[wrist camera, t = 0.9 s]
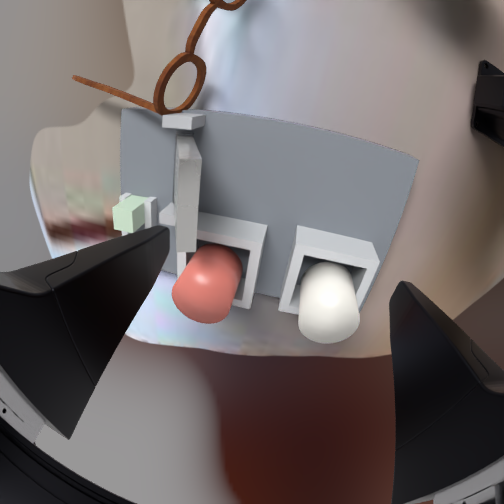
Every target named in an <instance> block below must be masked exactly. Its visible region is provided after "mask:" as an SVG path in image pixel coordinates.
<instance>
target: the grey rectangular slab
mask: <svg viewBox="0 0 504 504" xmlns="http://www.w3.org/2000/svg"><path fill="white" fill-rule="evenodd" d="M193 136H194V132H193V131H187V130H180V131H176V139H175V153H174V171H173V198H172V203H173V204H174V218H175V237H176V252H196V240H197V221H198V205H199V190H200V177H201V166H202V158H201V156H200V153H199V151H198V148H197V146H196V143H195V141H194V138H193Z"/></svg>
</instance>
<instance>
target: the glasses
mask: <svg viewBox="0 0 504 504" xmlns="http://www.w3.org/2000/svg"><path fill="white" fill-rule="evenodd" d="M209 1H210V2H211V3H210V4H209V5H207V6H206V7H205V8H204V9H203V11H202V12H201V14H200V15H199V17H198V19H197V21H196V23H195V25H194V27H193V29H192V31H191V33H190V35H189V37H188V40H187V43H186V50H185V52H184V53H180V54H179V55H177V56H176V57H175V58H174V59H173V60H172V61H171V62H170V63H169V64H168V65H167V66H166V67H165V69H164V70H163V72H162V74H161V75H160V77H159V79H158V82H157V84H156V88H155V91H154V97H153V103H151V102H148V101H146V100H143V99H141V98H138V97H136V96H133V95H131V94H128V93H126V92H123V91H120V90H118V89H115V88H112V87H110V86H107V85H104V84H101V83H97V82H94V81H91V80H88V79H85V78H82V77H80V76H75V75H73V77H72V79H74V80H75V81H78V82H80V83H83V84H85V85H88V86H91V87H94V88H97V89H99V90H102V91H105V92H108V93H110V94H113V95H115V96H118V97H120V98H123V99H125V100H127V101H130V102H132V103H135V104H137V105H139V106H142V107H144V108H146V109H149V110H151V111H153V112H155V113H158V114H159V115H161V116H163V115H167V114H174V113H182V110H188V109H189V108H190V107H191V106H192V105H193V103H194V102H195V100H196V99H197V97H198V95H199V93H200V91H201V89H202V86H203V84H204V81H205V76H206V65H205V62H204V61H203V60H202V59H201V58H200V57H198V56H197V55H195V54H194V50H195V46H196V43H197V41H198V39H199V37H200V35H201V33H202V31H203V29H204V27H205V25H206V23H207V21H208V19H209V18H210V16H211V14H212V13H213V12H214V10H215V9H216V8H217V7H218V8H221V9H224V10H230V11H233V10H236V9H238V8H239V7H241V6H242V5H243V4H244V3H245V1H246V0H235V1H234V2H232V3H226V2H224V1H223V0H209ZM186 62H192V63H193V64H195V66H196V68H197V79H196V82H195V85H194V88H193V90H192V92H191V93H190V95H189V97H188V98H187V99H186V101H185V102H184V103H183V104H182V105H180V106H179V107H177V108H175V109H167V108H166V107H165V105H164V92H165V88H166V85H167V83H168V81H169V79H170V77H171V76H172V74H173V73H174V71H175V70H176V69H177V68H178V67H179V66H181V65H182V64H184V63H186Z"/></svg>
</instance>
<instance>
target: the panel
mask: <svg viewBox="0 0 504 504" xmlns="http://www.w3.org/2000/svg"><path fill="white" fill-rule="evenodd" d="M167 109H175V108H167ZM180 130H187V131H193V132H194V136H193V138H194V141H195V143H196V146H197V148H198V151H199V153H200V156H201V158H202V166H201V177H200V190H199V205H198V221H197V240H196V251H197V250H198V249H199V248H200V247H201V246H203V245H206V244H221V245H224V246H226V247H228V248H230V249H231V250H233V251H234V252H235V253H236V254H237V255H238V257H239V258H240V260H241V263H242V266H243V272H242V276H241V279H240V282H239V285H238V288H237V290H236V293H235V296H234V299H233V302H232V305H233V306H237V307H241V308H246V309H250V308H251V304H252V300H253V296H254V292H255V293H259V294H264V295H269V296H273V297H278V298H280V301H279V308H278V311H283V312H288V313H293V314H298V315H299V304H300V285H301V278H302V276H303V274H304V273H305V271H306V270H307V269H308V268H310V267H311V266H313V265H315V264H317V263H321V262H335V263H338V264H341V265H343V266H344V267H345V268H347V269H348V271H349V272H350V274H351V276H352V280H353V285H354V289H355V295H356V300H357V305H358V311H359V313H360V311H361V309H362V307H363V305H364V303H365V301H366V299H367V297H368V295H369V293H370V290H371V288H372V286H373V284H374V282H375V280H376V277H377V275H378V273H379V271H380V268H381V266H382V264H383V261H384V259H385V257H386V254H387V252H388V249H389V247H390V245H391V242H392V239H393V237H394V234H395V232H396V229H397V226H398V224H399V221H400V218H401V216H402V213H403V210H404V207H405V204H406V201H407V198H408V195H409V192H410V189H411V186H412V183H413V180H414V176H415V173H416V170H417V166H418V163H419V160H418V159H416V158H414V157H413V156H411V155H409V154H406V153H403V152H401V151H398V150H395V149H392V148H389V147H386V146H383V145H379V144H376V143H373V142H370V141H366V140H363V139H360V138H356V137H352V136H349V135H345V134H341V133H337V132H334V131H329V130H325V129H321V128H317V127H312V126H308V125H303V124H298V123H293V122H288V121H283V120H277V119H272V118H266V117H259V116H253V115H245V114H238V113H230V112H221V111H211V110H199V109H188V110H182V113H174V114H167V115H163V116H161V115H159V114H158V113H155V112H153V111H151V110H149V109H146V108H144V107H133V108H125V109H122V113H121V140H120V172H121V196H120V197H119V200H120V202H122V201H123V200H125V199H126V198H127V197H129V196H130V195H135V196H142V197H148V198H147V199H146V200H145V201H144V215H145V223H144V224H143V225H142V226H141V227H140V228H139V229H137V230H136V231H135V232H137V231H140V230H143V229H147V228H150V227H153V226H157V225H161V226H165V227H168V228H169V230H170V251H169V254H168V256H167V258H166V261H165V263H164V265H163V267H162V269H161V270H162V271H166V272H170V273H174V274H177V280H178V278H179V277H180V275H181V274H182V272H183V270H184V269H185V267H186V266H187V264H188V263H189V261H190V260H191V258H192V257H193V255H194V254H195V252H176V237H175V218H174V204H173V203H172V198H173V171H174V153H175V139H176V131H180ZM127 234H130V233H129V232H125V231H122V236H124V235H127Z"/></svg>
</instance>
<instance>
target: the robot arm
mask: <svg viewBox="0 0 504 504" xmlns="http://www.w3.org/2000/svg"><path fill="white" fill-rule="evenodd" d="M484 64H485V65H486V68H485V66H484ZM476 122H477V126H476ZM471 126H472V128H473V129H475V130H476V131H478V132H480V133H482V134H483V135H485V136H487V137H488V138H490V139H492V140H493V141H495V142H496V143H498V144H500V145H501V146H503V147H504V73H503V72H502V71H500V70H499V69H498V68H496V67H495V66H493V65H492V64H491V63H489V62H488V61H486V60H482V61H480V64H479V74H478V77H477V84H476V92H475V98H474V108H473V114H472V119H471ZM169 251H170V230H169V228H168V227H165V226H161V225H157V226H153V227H150V228H147V229H143V230H140V231H137V232H134V233H130V234H127V235H124V236H121V237H118V238H114V239H111V240H108V241H105V242H102V243H99V244H96V245H93V246H90V247H87V248H84V249H81V250H78V252H77V251H75V252H72V253H69V254H66V255H63V256H60V257H57V258H54V259H51V260H48V261H44V262H42V263H38V264H34V265H31V266H28V267H25V268H21V269H18V270H15V271H11V272H0V504H137V503H134V502H132V501H130V500H127V499H125V498H123V497H120V496H118V495H116V494H114V493H112V492H110V491H108V490H106V489H104V488H102V487H100V486H98V485H96V484H95V483H93V482H91V481H89V480H87V479H85V478H84V477H82V476H80V475H79V474H77V473H75V472H74V471H72V470H70V469H69V468H67V467H66V466H64V465H63V464H61V463H60V462H58V461H57V460H55V459H54V458H52V457H51V456H49V455H48V454H46V453H45V452H43V451H42V450H41V449H40V448H38V447H37V446H36V445H35V440H36V438H37V436H38V435H39V432H40V431H41V429H42V428H43V426H44V424H46V425H47V426H49V427H50V428H51V429H53V430H54V431H56V432H57V433H59V434H60V435H62V436H63V437H65V438H67V439H68V440H69V439H70V438H71V436H72V434H73V432H74V430H75V427H76V425H77V423H78V421H79V419H80V417H81V415H82V413H83V411H84V409H85V407H86V405H87V403H88V401H89V398H90V397H91V395H92V393H93V391H94V389H95V386H96V385H97V383H98V381H99V379H100V377H101V375H102V373H103V371H104V370H105V368H106V366H107V364H108V362H109V361H110V359H111V357H112V355H113V353H114V352H115V350H116V348H117V346H118V345H119V343H120V341H121V339H122V338H123V336H124V334H125V332H126V331H127V329H128V327H129V326H130V324H131V322H132V320H133V319H134V317H135V315H136V314H137V312H138V310H139V309H140V307H141V305H142V304H143V302H144V301H145V299H146V297H147V296H148V294H149V292H150V291H151V289H152V287H153V285H154V283H155V281H156V279H157V277H158V275H159V273H160V271H161V269H162V267H163V265H164V263H165V261H166V258H167V256H168V254H169ZM389 312H390V342H391V352H392V362H393V375H394V389H395V414H396V445H395V450H396V451H395V467H394V482H393V493H392V503H391V504H415V503H420V502H424V501H428V500H432V499H434V504H504V371H503V370H502V369H501V368H500V367H499V366H498V365H497V364H496V363H495V362H494V361H493V360H492V359H491V358H490V357H489V356H488V355H487V354H486V353H485V352H484V351H483V350H482V349H481V348H480V347H479V346H478V345H477V344H476V343H475V342H474V341H473V340H472V339H470V337H469V336H468V335H467V334H466V333H465V332H464V331H463V330H462V329H461V328H460V327H459V326H458V325H457V324H456V323H455V322H453V320H452V319H450V318H449V317H448V316H447V315H446V314H445V313H444V312H443V311H442V310H441V309H440V308H439V307H438V306H437V305H435V304H434V303H433V302H432V301H431V300H430V299H429V298H428V297H427V296H426V295H424V294H423V293H422V292H421V291H420V290H419V289H418V288H416V287H415V286H414V285H413V284H412V283H410V282H406V281H400V282H399V284H398V285H397V287H396V289H395V291H394V293H393V295H392V297H391V299H390V302H389Z"/></svg>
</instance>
